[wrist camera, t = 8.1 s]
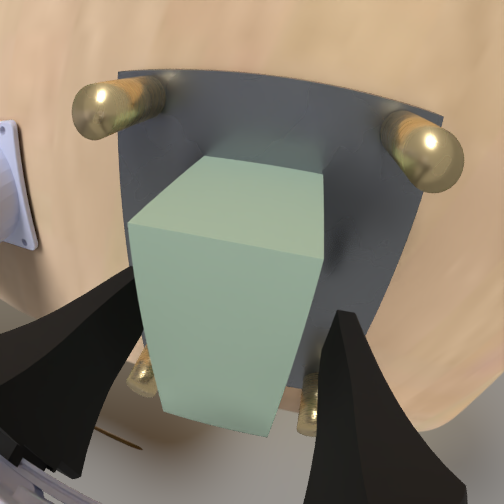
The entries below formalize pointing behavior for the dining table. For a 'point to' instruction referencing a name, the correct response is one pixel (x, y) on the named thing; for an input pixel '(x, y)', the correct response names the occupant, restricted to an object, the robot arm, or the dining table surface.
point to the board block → (228, 286)
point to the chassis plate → (289, 156)
